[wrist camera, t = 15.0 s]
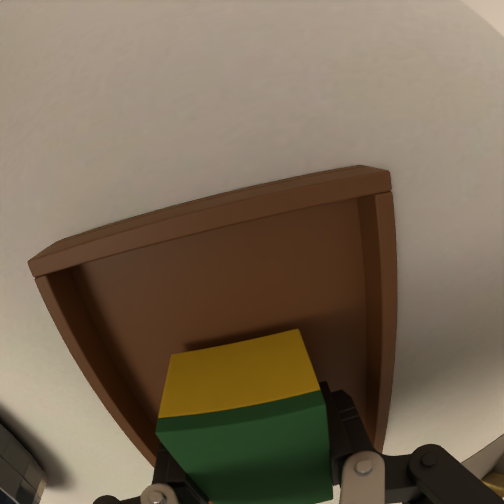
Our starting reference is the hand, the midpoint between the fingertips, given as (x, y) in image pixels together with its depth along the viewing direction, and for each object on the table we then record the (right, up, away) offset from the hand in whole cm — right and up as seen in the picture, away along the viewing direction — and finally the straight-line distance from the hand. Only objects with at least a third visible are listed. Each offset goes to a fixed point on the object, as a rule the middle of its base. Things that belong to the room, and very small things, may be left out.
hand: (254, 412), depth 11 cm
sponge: (0, 0, 0) cm, 0 cm away
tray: (0, +1, +1) cm, 2 cm away
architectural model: (+33, -23, +13) cm, 43 cm away
